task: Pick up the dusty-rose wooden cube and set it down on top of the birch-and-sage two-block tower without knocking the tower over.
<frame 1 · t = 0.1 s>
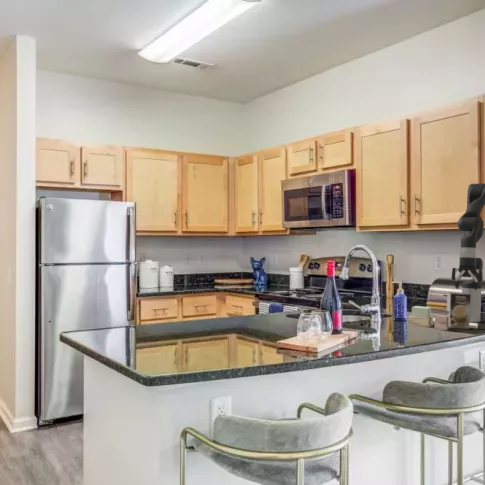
hand: (466, 289, 269), 17 cm above the table, tool pointing down, fingers open, 8 cm apart
rose block: (441, 329, 246), on the table
coffee box: (457, 327, 254), on the table
tower base: (420, 326, 257), on the table, touching tower mid
tower mid: (421, 316, 257), point 4 cm above the table, touching tower base
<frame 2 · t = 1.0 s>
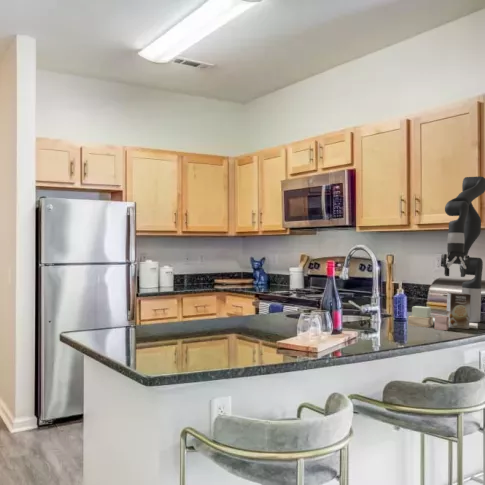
hand: (454, 276, 257), 24 cm above the table, tool pointing down, fingers open, 8 cm apart
tower base: (420, 326, 257), on the table
tower mid: (421, 316, 257), point 4 cm above the table
everything else where it was.
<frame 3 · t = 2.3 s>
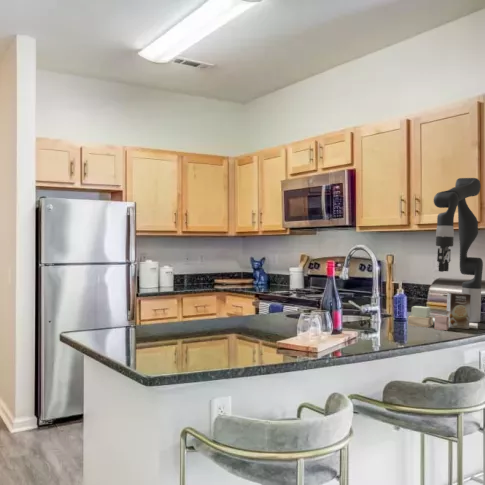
hand: (443, 271, 246), 26 cm above the table, tool pointing down, fingers open, 8 cm apart
nothing on the table moved.
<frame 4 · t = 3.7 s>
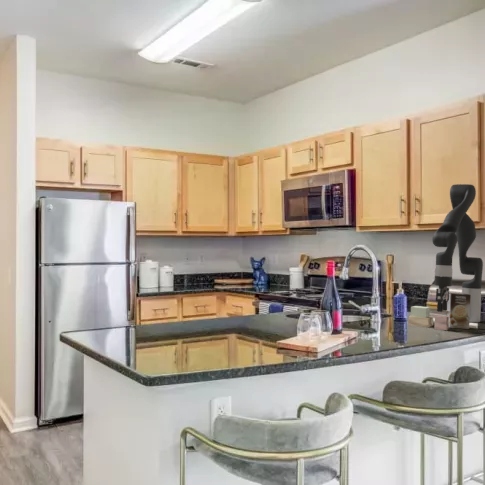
hand: (442, 310, 245), 8 cm above the table, tool pointing down, fingers open, 8 cm apart
tower base: (420, 326, 257), on the table, touching tower mid
tower mid: (420, 316, 257), point 4 cm above the table, touching tower base
everything else where it was.
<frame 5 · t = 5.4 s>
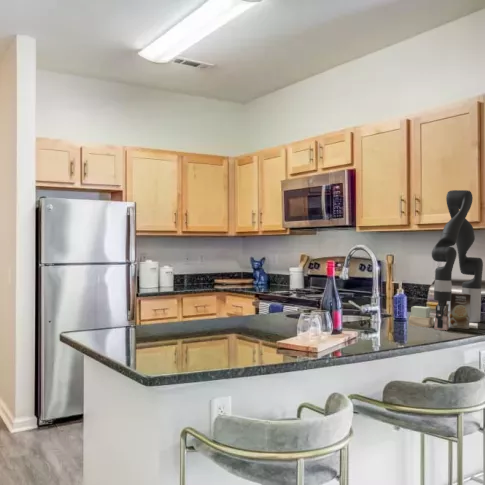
hand: (441, 327, 246), 1 cm above the table, tool pointing down, fingers closed on rose block, 5 cm apart
rose block: (441, 329, 246), on the table, touching gripper
everything else where it was.
when the fingers open (11 cm above the table, at t = 13.4 s): rose block drops 1 cm, resting on tower mid.
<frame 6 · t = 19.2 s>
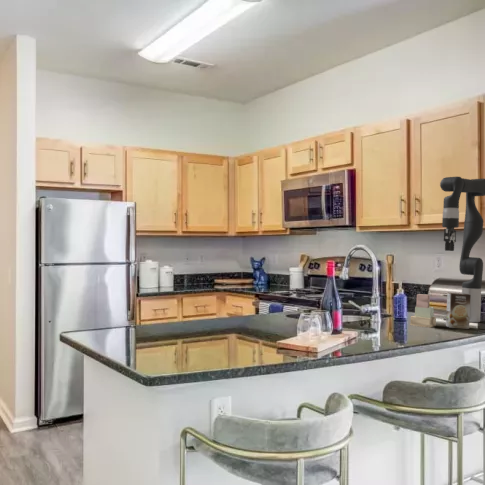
hand: (449, 250, 263), 36 cm above the table, tool pointing down, fingers open, 8 cm apart
rose block: (422, 307, 257), point 9 cm above the table, touching tower mid
tower base: (423, 326, 257), on the table
tower mid: (424, 316, 257), point 4 cm above the table, touching rose block
everything else where it was.
at the end: rose block 1.0 cm off-centre on the tower mid, point 4.5 cm above the tower mid's base; rose block tilted 0°; tower mid tilted 0° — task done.
